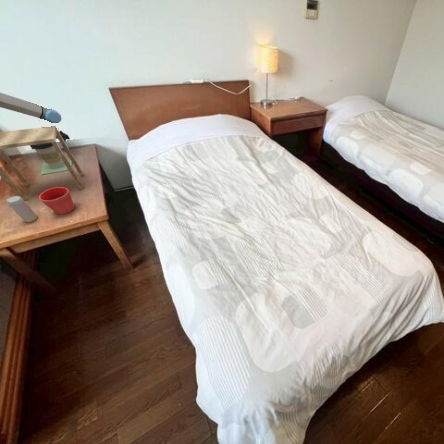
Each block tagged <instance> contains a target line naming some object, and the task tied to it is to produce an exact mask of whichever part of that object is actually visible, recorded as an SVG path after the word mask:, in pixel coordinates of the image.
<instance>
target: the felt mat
mask: <svg viewBox="0 0 444 444" xmlns="http://www.w3.org/2000/svg"><path fill="white" fill-rule="evenodd" d="M61 160H62V159H61ZM67 160H68V162H69V163H70V165H71V166H72V167H73V163H72V161H71V160H70V158H67ZM62 162H63V160H62ZM63 164H64V162H63ZM41 166H42V167H41V172H40V175H41V176H45V175H51V174H56V173H63V172H67V171H68V172H69V170H68V168H67V167H66V165H65V164H64V165H63V166H62V167H60V168H56V169H53V168H51V167H50V166H49V165H48V164H47V163H46V162H42V165H41Z"/></svg>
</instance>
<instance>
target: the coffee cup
mask: <svg viewBox="0 0 444 444" xmlns="http://www.w3.org/2000/svg"><path fill="white" fill-rule="evenodd" d="M32 148H33V149H32ZM32 148H31V149H32V150H35V152H36V153H37V154H38V155H39V157H40V158H41V159H42V160H43V161H44V163H47V164H48V165H49V166H50V167H51V168H53V169H56V168H60V167H62V166H63V165H64V164H63V162H62V159H61V157H60V156H59V154H58V152H57V151H56V149H55V148H54V146H53V144H52V143H44V144H36V145H32Z"/></svg>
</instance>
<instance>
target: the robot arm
mask: <svg viewBox="0 0 444 444" xmlns="http://www.w3.org/2000/svg"><path fill="white" fill-rule="evenodd" d="M0 108H2V109H6V110H8V111H13V112H16V113H19V114H23V115H26V116H31V117H32V118H33V117H34V118H38V119H39V118H40V119H44V120H47V121H49V122H51V123H60V122H62V119H63V118H62V115H61V114H60V113H59V112H58V111H57V110H56V109H53V108H51V109H47V108H44V107H42V106H39V105H37V104H34V103H31V102H29V101H27V100H24V99H22V98H19V97H15V96H13V95H9V94H6V93H4V92H0ZM52 109H53V110H52ZM58 131H59V130H58ZM59 133H60V135H61V136H62V138H63V140H64V141H65V143H66V142H67V140H69V141H70V140H71V138H70V136H69V134H68V133H65V132H63V130H60V131H59ZM56 140H58V138H57V136H56ZM29 146H30V149H32V150H34V149H33V148H32V145H29Z"/></svg>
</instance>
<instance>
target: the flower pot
mask: <svg viewBox="0 0 444 444" xmlns="http://www.w3.org/2000/svg"><path fill="white" fill-rule="evenodd" d="M38 199H39V201H41V202H42V203H43V205H45V206H46V207H47V208H48V209H50V210H51V211H52V212H54V213H55V214H57V215H64V214H68V213H70V212H72V211H73V210H74V209H75V204H74V201H73V197H72V195H71V192H70V190H69V189H68V188H67V187H64V186H57V187H51V188H48V189H46V190H44V191H42V192H41V193H40V194H39V196H38Z"/></svg>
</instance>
